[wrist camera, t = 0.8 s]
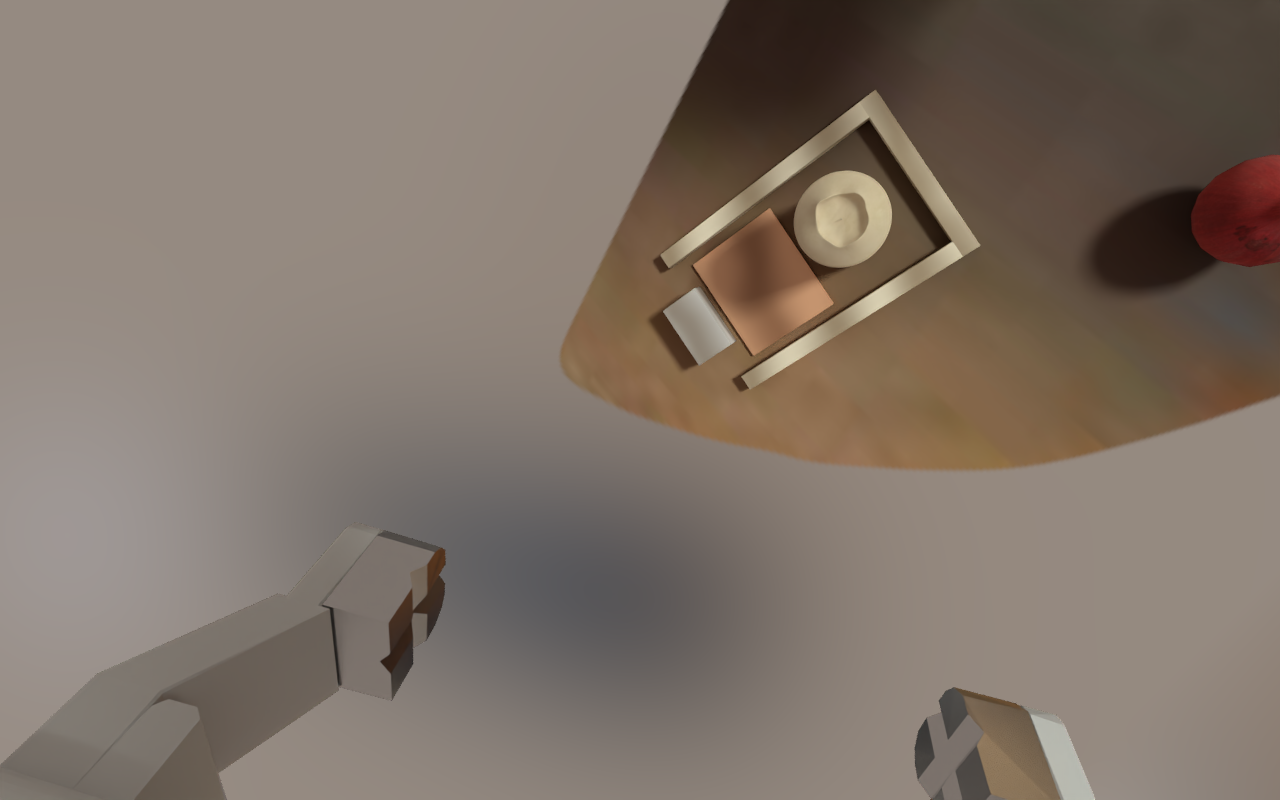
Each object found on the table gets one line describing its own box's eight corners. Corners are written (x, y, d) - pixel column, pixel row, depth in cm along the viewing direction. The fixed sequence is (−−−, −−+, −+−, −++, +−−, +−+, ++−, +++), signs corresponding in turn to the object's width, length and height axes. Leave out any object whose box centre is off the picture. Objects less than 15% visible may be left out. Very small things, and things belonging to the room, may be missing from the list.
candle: (788, 233, 47) (771, 228, 38) (841, 169, 45) (836, 146, 36) (848, 281, 46) (845, 287, 37) (903, 218, 44) (915, 207, 35)
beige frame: (875, 93, 43) (875, 85, 41) (977, 245, 43) (983, 245, 41) (644, 270, 51) (635, 270, 49) (730, 400, 51) (726, 405, 49)
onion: (1290, 252, 38) (1394, 251, 31) (1172, 274, 40) (1243, 278, 33) (1282, 152, 37) (1387, 127, 30) (1163, 180, 39) (1233, 162, 32)
